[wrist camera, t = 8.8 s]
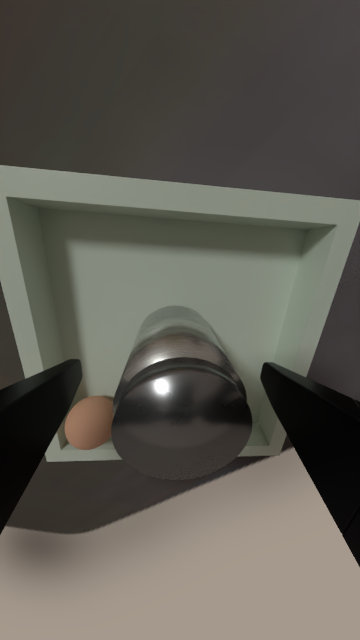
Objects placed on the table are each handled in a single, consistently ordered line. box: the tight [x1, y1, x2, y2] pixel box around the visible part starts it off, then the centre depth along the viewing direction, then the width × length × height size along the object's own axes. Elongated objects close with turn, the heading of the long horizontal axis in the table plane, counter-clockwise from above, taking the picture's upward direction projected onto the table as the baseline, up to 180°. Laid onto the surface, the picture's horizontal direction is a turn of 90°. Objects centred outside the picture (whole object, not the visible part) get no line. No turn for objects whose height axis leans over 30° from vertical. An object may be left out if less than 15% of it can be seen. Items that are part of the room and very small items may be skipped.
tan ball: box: [65, 396, 114, 450], centre depth 12 cm, size 3×3×3 cm
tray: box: [0, 165, 360, 462], centre depth 11 cm, size 16×16×2 cm
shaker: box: [111, 305, 252, 480], centre depth 9 cm, size 5×5×6 cm
